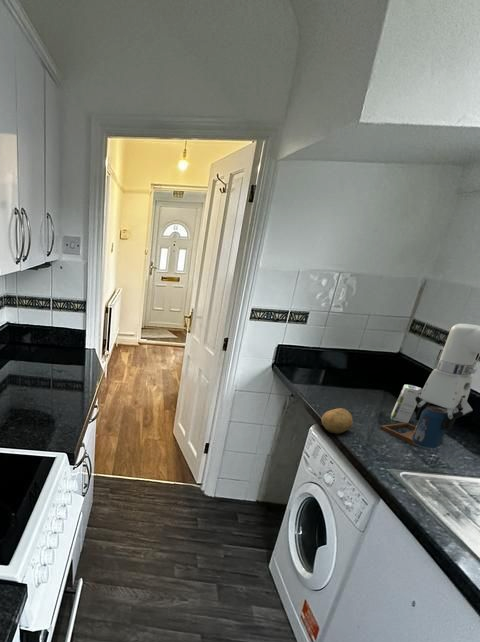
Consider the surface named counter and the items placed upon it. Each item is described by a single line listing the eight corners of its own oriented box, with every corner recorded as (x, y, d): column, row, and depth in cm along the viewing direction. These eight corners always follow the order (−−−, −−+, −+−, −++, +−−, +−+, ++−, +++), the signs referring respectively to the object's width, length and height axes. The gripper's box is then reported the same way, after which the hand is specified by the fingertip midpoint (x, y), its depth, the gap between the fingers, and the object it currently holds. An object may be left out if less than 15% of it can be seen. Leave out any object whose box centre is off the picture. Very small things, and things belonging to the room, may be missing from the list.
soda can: (439, 445, 128) (454, 409, 124) (435, 452, 124) (451, 415, 119) (413, 437, 133) (426, 403, 128) (408, 444, 128) (422, 408, 124)
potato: (312, 431, 151) (318, 412, 147) (325, 421, 160) (332, 402, 156) (340, 442, 145) (348, 421, 141) (353, 431, 154) (360, 411, 150)
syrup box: (389, 416, 168) (403, 383, 162) (406, 420, 166) (421, 387, 160) (390, 421, 164) (404, 387, 158) (408, 425, 161) (423, 391, 155)
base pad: (441, 443, 148) (443, 438, 147) (414, 447, 144) (416, 441, 143) (405, 427, 159) (407, 422, 159) (379, 430, 155) (381, 425, 154)
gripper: (497, 376, 112) (472, 435, 119) (432, 359, 127) (412, 412, 134) (478, 377, 110) (454, 438, 117) (414, 360, 125) (396, 415, 132)
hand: (432, 424), depth 125 cm, fingers closed on soda can, 7 cm apart
